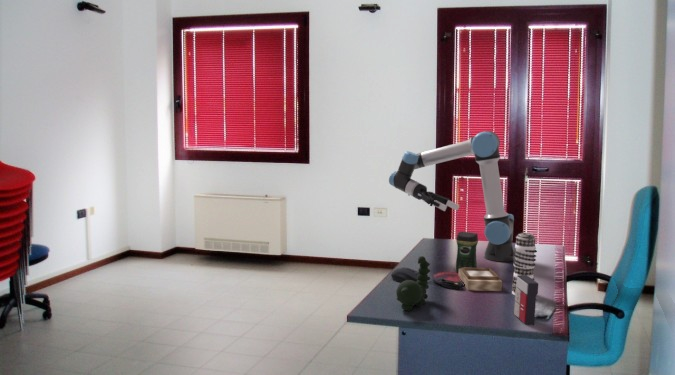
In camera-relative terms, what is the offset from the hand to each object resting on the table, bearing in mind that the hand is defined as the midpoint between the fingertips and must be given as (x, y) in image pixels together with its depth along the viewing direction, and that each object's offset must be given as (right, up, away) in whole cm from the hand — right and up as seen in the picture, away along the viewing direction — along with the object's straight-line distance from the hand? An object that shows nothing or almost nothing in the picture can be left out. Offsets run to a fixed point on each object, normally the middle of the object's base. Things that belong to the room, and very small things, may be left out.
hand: (452, 208), depth 305 cm
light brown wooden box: (+6, -31, -31) cm, 44 cm away
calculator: (+12, -38, -76) cm, 86 cm away
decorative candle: (+21, -34, -44) cm, 59 cm away
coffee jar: (+4, -29, -11) cm, 31 cm away
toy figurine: (-26, -35, -63) cm, 77 cm away
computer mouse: (-17, -32, -31) cm, 48 cm away
